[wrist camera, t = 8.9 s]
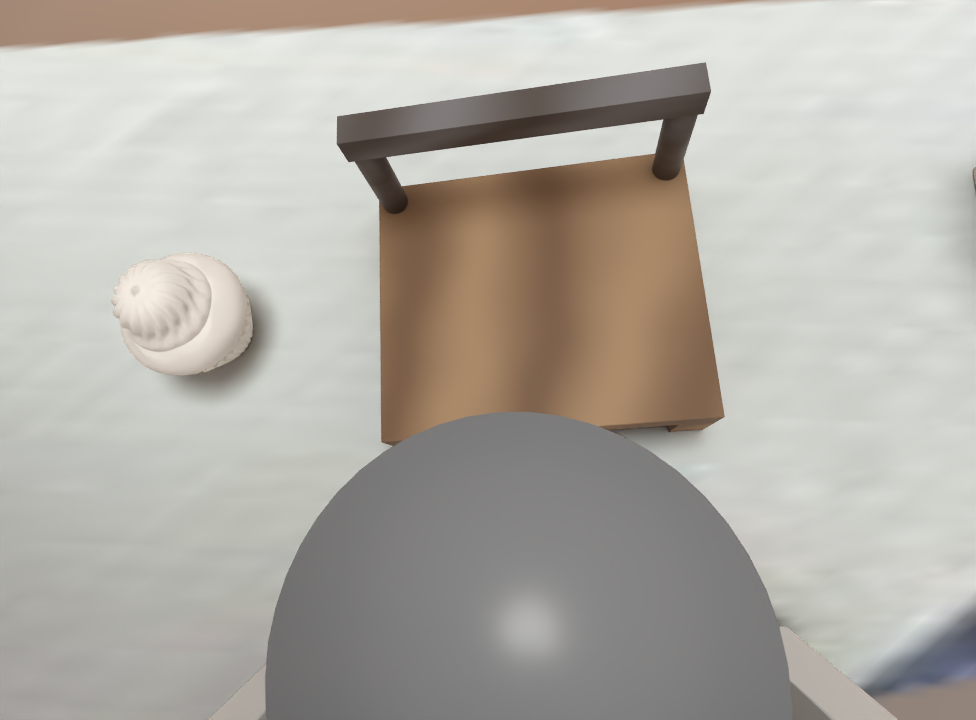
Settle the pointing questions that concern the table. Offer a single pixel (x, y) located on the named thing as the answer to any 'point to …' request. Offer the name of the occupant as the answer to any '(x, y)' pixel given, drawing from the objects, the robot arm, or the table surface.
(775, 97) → the table surface
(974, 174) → the light bulb box
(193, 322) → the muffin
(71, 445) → the table surface
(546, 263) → the shelf stand
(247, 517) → the table surface
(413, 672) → the cord spool
